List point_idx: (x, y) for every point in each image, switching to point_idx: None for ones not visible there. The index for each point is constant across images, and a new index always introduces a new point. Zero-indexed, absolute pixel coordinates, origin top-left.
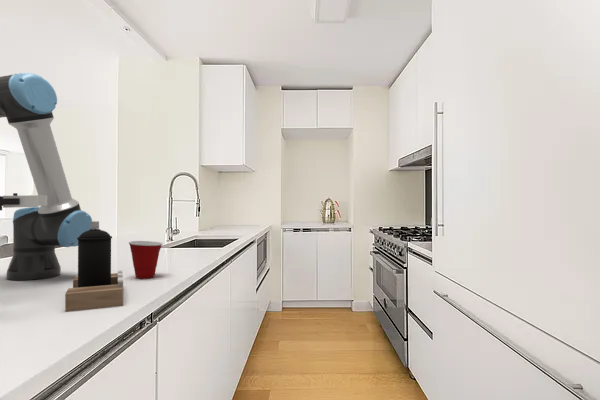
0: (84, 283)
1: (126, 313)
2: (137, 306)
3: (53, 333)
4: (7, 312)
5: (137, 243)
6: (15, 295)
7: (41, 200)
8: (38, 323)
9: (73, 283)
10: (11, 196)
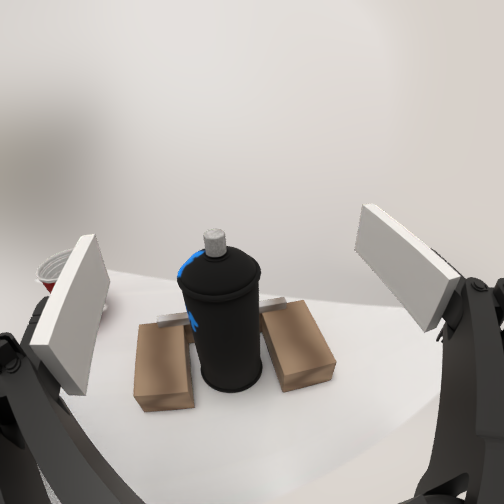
0: (257, 355)
1: (342, 307)
2: (307, 303)
3: (424, 347)
4: (326, 470)
5: (40, 277)
6: None
7: (97, 272)
8: (393, 384)
9: (189, 394)
10: (434, 257)
